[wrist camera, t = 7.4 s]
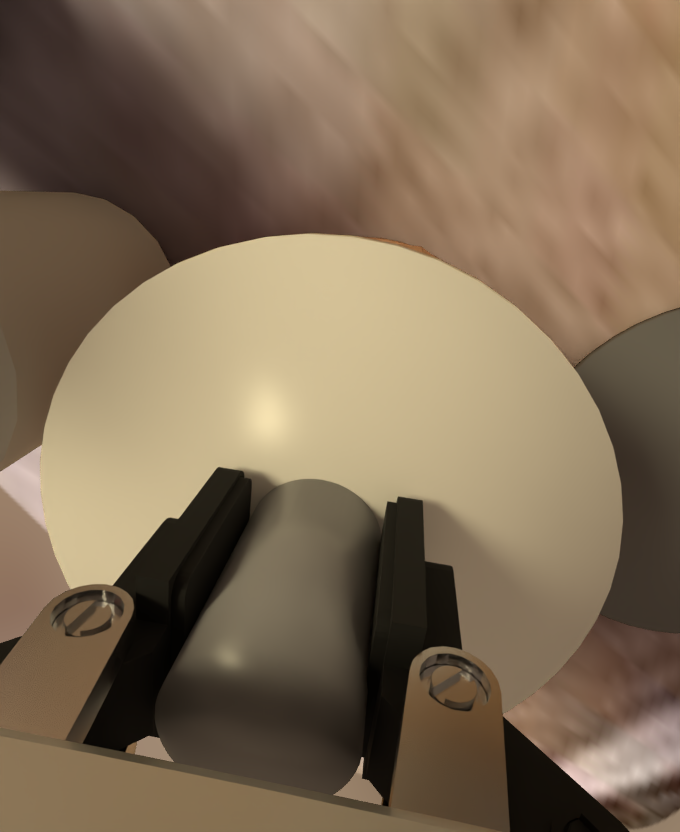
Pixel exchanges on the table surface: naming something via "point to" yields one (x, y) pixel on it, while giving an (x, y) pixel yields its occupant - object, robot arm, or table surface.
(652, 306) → the table surface
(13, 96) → the table surface
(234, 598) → the lid
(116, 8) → the table surface
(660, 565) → the mat
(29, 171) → the table surface
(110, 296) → the can
